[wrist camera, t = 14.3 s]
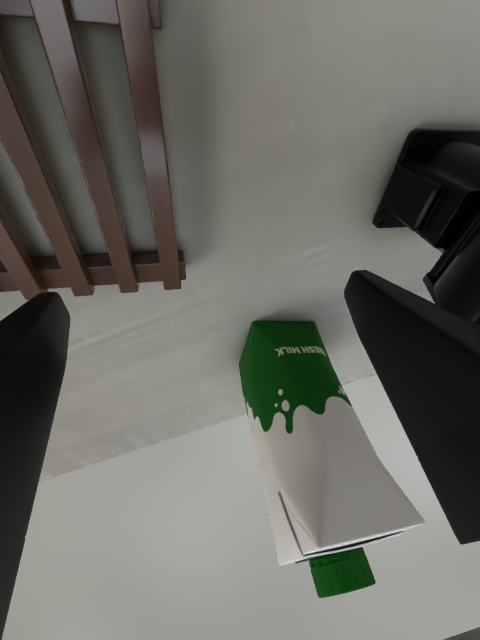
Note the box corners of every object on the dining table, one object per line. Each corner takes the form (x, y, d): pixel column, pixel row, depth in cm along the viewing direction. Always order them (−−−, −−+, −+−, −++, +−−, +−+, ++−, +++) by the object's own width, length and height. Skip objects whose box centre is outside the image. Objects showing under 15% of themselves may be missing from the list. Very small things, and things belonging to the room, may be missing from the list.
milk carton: (229, 369, 33) (276, 608, 19) (245, 313, 27) (330, 606, 13) (297, 366, 35) (381, 577, 22) (326, 314, 29) (469, 563, 16)
